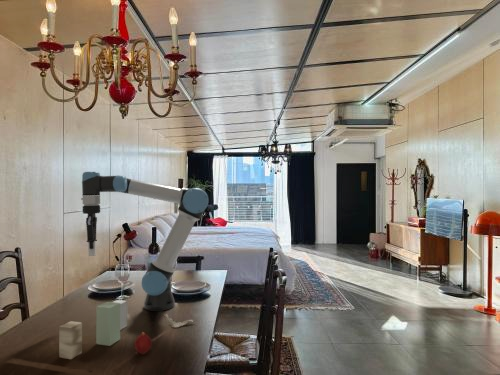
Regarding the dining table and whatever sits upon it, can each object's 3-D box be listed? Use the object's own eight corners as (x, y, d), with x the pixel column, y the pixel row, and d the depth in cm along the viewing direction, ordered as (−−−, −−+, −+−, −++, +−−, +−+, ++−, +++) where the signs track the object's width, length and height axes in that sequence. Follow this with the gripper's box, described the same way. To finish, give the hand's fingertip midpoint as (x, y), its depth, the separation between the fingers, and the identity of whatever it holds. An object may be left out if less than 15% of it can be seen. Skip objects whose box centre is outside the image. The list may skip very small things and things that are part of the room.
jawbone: (179, 332, 149) (179, 327, 148) (149, 322, 161) (149, 318, 161) (195, 324, 156) (195, 319, 156) (165, 315, 168) (164, 311, 168)
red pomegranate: (136, 351, 129) (136, 329, 129) (152, 350, 130) (152, 328, 130) (132, 358, 123) (132, 335, 124) (149, 357, 124) (149, 334, 124)
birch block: (70, 354, 126) (70, 321, 127) (81, 356, 125) (81, 322, 125) (59, 361, 122) (59, 326, 122) (71, 363, 120) (71, 327, 120)
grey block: (116, 328, 152) (117, 299, 152) (126, 329, 150) (126, 300, 150) (109, 332, 147) (109, 303, 147) (119, 333, 145) (119, 304, 146)
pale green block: (96, 343, 132) (96, 306, 133) (107, 337, 138) (107, 301, 138) (109, 345, 131) (109, 307, 131) (120, 339, 136) (120, 303, 137)
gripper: (85, 204, 169) (86, 253, 169) (79, 205, 157) (80, 258, 156) (102, 204, 171) (103, 252, 171) (97, 205, 159) (98, 257, 158)
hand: (92, 255), depth 164 cm, fingers closed
